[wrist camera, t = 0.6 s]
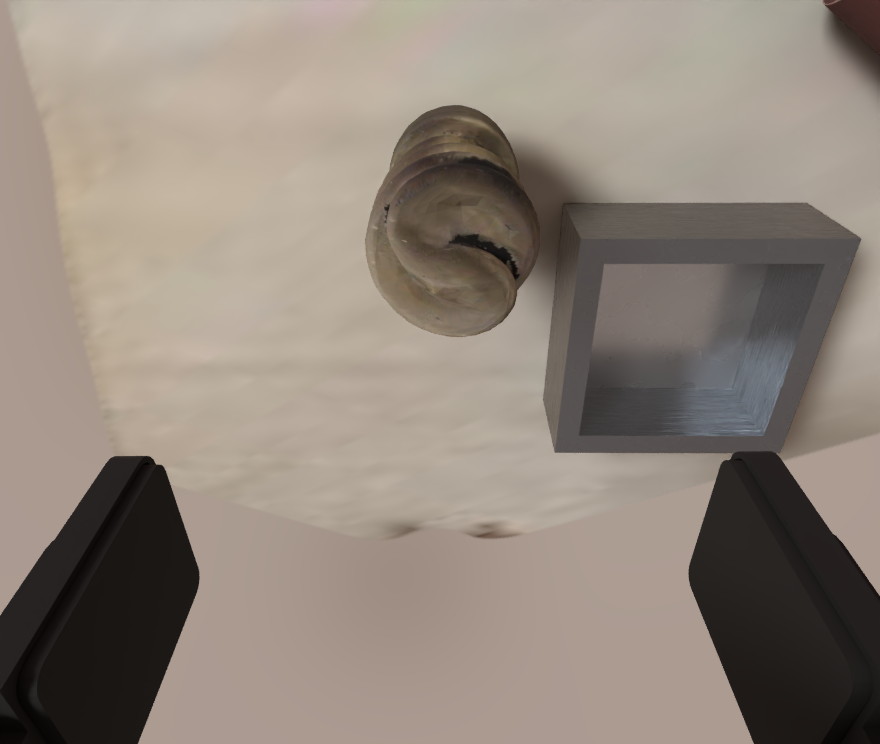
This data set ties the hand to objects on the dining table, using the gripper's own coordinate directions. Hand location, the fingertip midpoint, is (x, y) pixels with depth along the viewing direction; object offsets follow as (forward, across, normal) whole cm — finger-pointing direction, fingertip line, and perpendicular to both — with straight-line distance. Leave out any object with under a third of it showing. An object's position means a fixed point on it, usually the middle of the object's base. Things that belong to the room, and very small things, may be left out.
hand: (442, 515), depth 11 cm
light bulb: (+24, 0, 0) cm, 24 cm away
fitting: (+24, -12, +8) cm, 28 cm away
